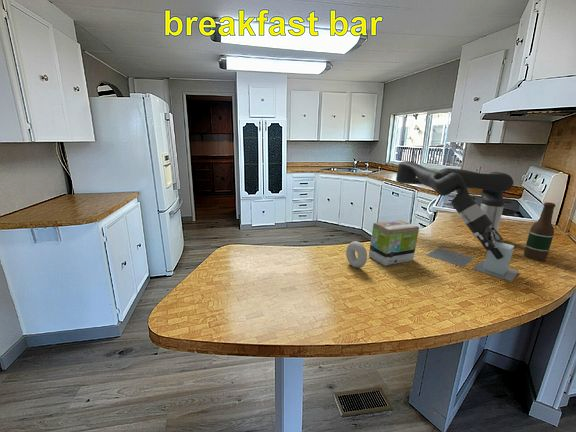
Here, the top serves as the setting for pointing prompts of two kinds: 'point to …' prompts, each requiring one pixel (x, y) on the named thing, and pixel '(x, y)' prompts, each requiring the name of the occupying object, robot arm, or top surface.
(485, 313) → the top surface
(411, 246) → the tea box
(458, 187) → the robot arm
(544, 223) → the beer bottle
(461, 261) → the mat
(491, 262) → the light gray block
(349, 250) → the donut
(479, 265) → the gray plate with knob
